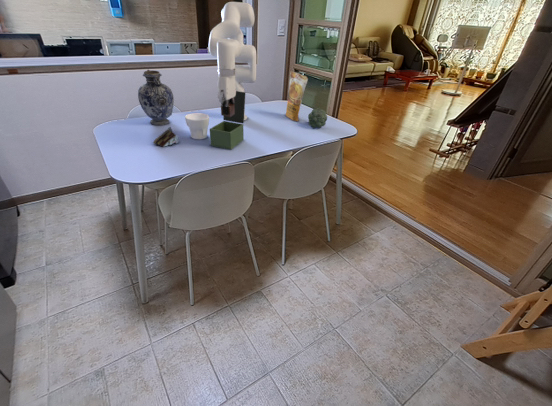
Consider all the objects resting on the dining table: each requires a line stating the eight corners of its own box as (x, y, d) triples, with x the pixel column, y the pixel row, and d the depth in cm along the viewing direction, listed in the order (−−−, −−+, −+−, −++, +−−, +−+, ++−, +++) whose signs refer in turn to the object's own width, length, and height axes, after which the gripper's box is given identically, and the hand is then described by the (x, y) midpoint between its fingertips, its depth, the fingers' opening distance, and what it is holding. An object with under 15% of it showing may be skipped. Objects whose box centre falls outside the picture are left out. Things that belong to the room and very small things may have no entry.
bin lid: (244, 92, 144) (245, 92, 144) (224, 89, 147) (225, 89, 147) (243, 123, 150) (243, 123, 151) (223, 120, 153) (224, 119, 154)
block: (230, 117, 137) (229, 106, 134) (221, 115, 138) (220, 105, 136) (234, 114, 141) (234, 104, 138) (225, 112, 142) (225, 102, 139)
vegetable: (322, 118, 190) (334, 114, 176) (312, 134, 188) (323, 131, 174) (309, 106, 185) (320, 102, 171) (298, 123, 184) (308, 119, 170)
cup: (185, 133, 159) (183, 113, 152) (208, 131, 163) (206, 112, 157) (189, 141, 149) (186, 120, 143) (213, 139, 154) (211, 119, 148)
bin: (231, 149, 144) (230, 133, 139) (210, 145, 147) (209, 128, 142) (243, 140, 156) (243, 124, 151) (224, 136, 159) (223, 120, 154)
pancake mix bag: (290, 113, 202) (294, 70, 187) (304, 121, 188) (309, 76, 173) (282, 114, 200) (285, 70, 184) (295, 122, 186) (299, 76, 170)
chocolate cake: (161, 150, 139) (176, 130, 140) (151, 142, 141) (166, 123, 141) (172, 156, 149) (186, 138, 149) (162, 149, 150) (176, 131, 151)
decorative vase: (181, 125, 168) (175, 74, 153) (148, 130, 159) (138, 76, 144) (170, 115, 183) (163, 67, 167) (139, 119, 173) (128, 68, 158)
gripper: (228, 68, 136) (229, 107, 147) (209, 74, 123) (212, 116, 133) (242, 70, 135) (242, 109, 145) (225, 76, 121) (227, 119, 131)
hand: (228, 112), depth 139 cm, fingers closed on block, 4 cm apart
